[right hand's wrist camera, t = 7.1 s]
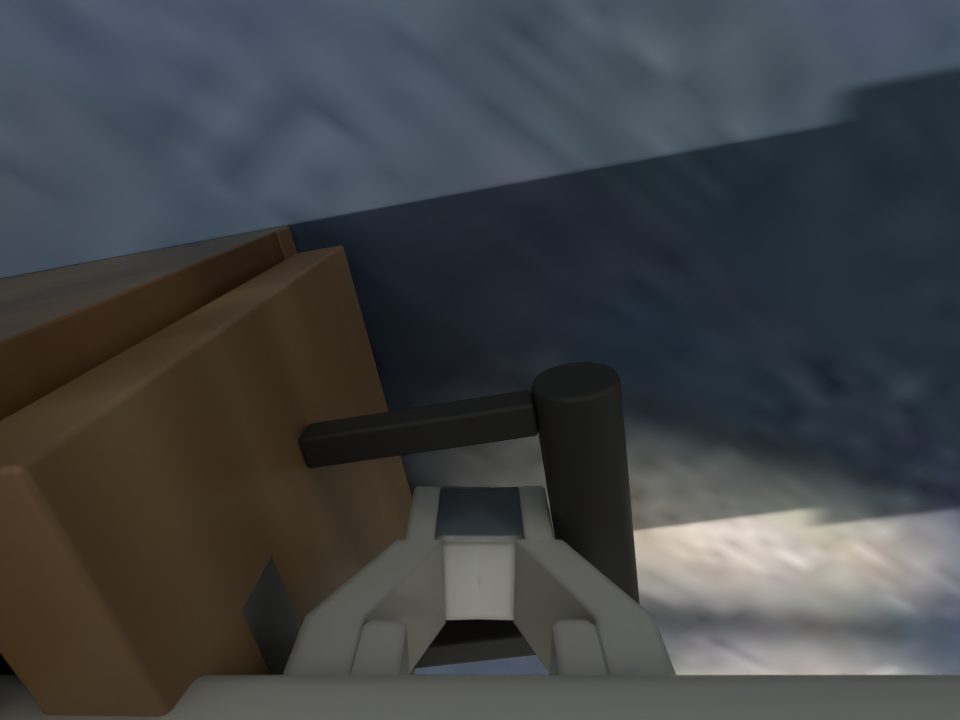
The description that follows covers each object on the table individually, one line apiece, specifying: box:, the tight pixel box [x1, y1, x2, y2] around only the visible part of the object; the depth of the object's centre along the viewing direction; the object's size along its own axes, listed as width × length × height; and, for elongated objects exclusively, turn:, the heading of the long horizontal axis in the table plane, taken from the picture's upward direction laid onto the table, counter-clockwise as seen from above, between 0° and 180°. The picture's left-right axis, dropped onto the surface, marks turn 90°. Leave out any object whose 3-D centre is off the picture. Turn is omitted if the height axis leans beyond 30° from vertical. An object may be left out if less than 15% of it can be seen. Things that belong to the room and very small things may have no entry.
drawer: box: [0, 245, 639, 717], centre depth 11 cm, size 22×10×10 cm, turn 100°
